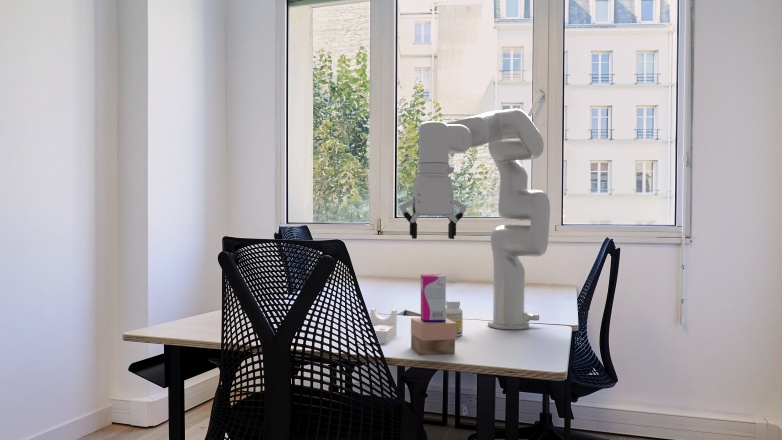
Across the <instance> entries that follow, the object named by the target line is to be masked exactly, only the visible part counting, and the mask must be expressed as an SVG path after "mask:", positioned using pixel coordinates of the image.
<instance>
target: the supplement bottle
mask: <svg viewBox="0 0 782 440" xmlns="http://www.w3.org/2000/svg"><path fill="white" fill-rule="evenodd" d="M463 315H464V314H463V308H461V300H458V299H449V300H447V299H446V318H447V319H449V320H451V321H453V322H456V323H457V332H456V337H460V336H463V328H464V326H463V322H464V321H463Z"/></svg>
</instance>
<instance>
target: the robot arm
mask: <svg viewBox="0 0 782 440" xmlns="http://www.w3.org/2000/svg"><path fill="white" fill-rule="evenodd" d="M486 144H488V145H487V147H488V152H489V155H490V156H491V158H492V160H493V161H494V164H495V166H496V167H497V169H498V173H499V193H498V195H499V196H498V203H497V207H498V208H497V209H498V210H497V211H498V216H499V217H500V218H501V220H505V221H511V222H512V221H513V222H529V223H530V225H529V224H528V225H527V224H522V225H521V224H502V225H498V226H497V227H495V228H493V230H492V232H491V234H490V246H491V251H492V257H493V258H492V261H493V298H492V299H493V302H492V303H493V308H492V309H493V310H492V311H493V312H492V313H493V314H492V315H493V316H492V320H489V321H488V322H487V326H488V327H490V328H494V329H500V330H517V331H518V330H525V329H529V327H530V323H529V322H530V321H533V322H534V321H535V322H536V321H540V315H539V313H536V314H531V313H528V312H526V311H525V281H526V280H525V279H526V278H525V277H526V275H525V274H526V272H525V267H524V265H523V263H522V261H521V260H520V258H519V257H530V258H531V257H534V258H535V257H537V258H538V257H542V256H543V255H545V253H546V251H547V249H548V245H549V236H550V235H549V234H550V233H549V232H550V231H549V230H550V218H551V203H550V198H549V196H548V195H547V193H546V192H544V191H543V190H539V189H529V190H528V181H529V176H528V173H527V170H526V169H525V167H524V166H523V165H522V163H520V162H519V161H526V160H528V161H529V160H536V159H538V158H539V157H541V155H542V154H543V153H544V147H545V145H544V140H543V137H542V134H541V133H540V131H539V130H538V128H537V126H536V125H535V124H534V122H533V121H532V119H531V118H530V117H529V115H528V114H527V113H526V112H524V110H522V109H520V108H512V109H502V110H493V111H489V112H484V113H481V114H477V115H473V116H470V117H464V118H461V119H460V118H459V119H457V120H454V121H453V120H452V121H448V122H443V121H426V122H423V123H421V124H420V126H419V130H418V175H416V176H415V177H414V183H413V189H412V198H411V199H409V200H407V201H405V202H403V203H401V204H399V207H398V208H399V210H400V212H401V213H402V215H403V216H402V217H404V218H405V219H406V220H407V221H408V223H409V236H411V239H413V240H416V239H417V238H418V222H417V220H418V218H419V217H420V216H427V217H428V216H433V217H434V216H435V217H437V216H442V217H443V216H445V217H446V218H447V219H448V220H449V222H448V224H447V225H448V228H447V230H448V232H447V235H448V237H447V238H448V239H450V240H455V236H456V235H457V223H458V221H460V220H462V218H463V217H464V214H465V212H466V210H467V208H468V207H467V205H465V204H463V203H462V202H460V201H457V200H456V199H454V188H453V183H452V182H453V181H452V178H451V176H449V175H450V174H451V173H454V172H455V169H454V168H455V167H453V166H450V163H449V155H457V154H463V153H465V152H468V150H470V148H476V147H481V146H484V145H486ZM410 206H411V212H412V214H410V213H409V212H408V210H407V209H408V207H410ZM455 207H456V208H457V209H458V212H457V213H456V214H454V210H455Z"/></svg>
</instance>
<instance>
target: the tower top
mask: <svg viewBox="0 0 782 440" xmlns="http://www.w3.org/2000/svg"><path fill="white" fill-rule="evenodd" d="M456 332H457V323H456V322H453V321H451V320H449V319H447V318H446V322H423V321H422V319H421V317H413V318H412V317H411V318H410V335H411V334H412V335H414V336H415V337H417V338H418V339H420V340H421V341H427V340H449V339H455V340H457V336H456Z"/></svg>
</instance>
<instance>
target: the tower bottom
mask: <svg viewBox="0 0 782 440" xmlns="http://www.w3.org/2000/svg"><path fill="white" fill-rule="evenodd" d="M410 343H411V344H410V347H411V349H412V350H413V351H414V352H415V353H416V354H417V355H418V356H435V355H436V356H438V355H440V356H442V355H455V354H456V353H455V352H456V339H449V340H427V341H421V340H420V339H418V338H417V337H415V336H414V335H412V334H411V333H410Z"/></svg>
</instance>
